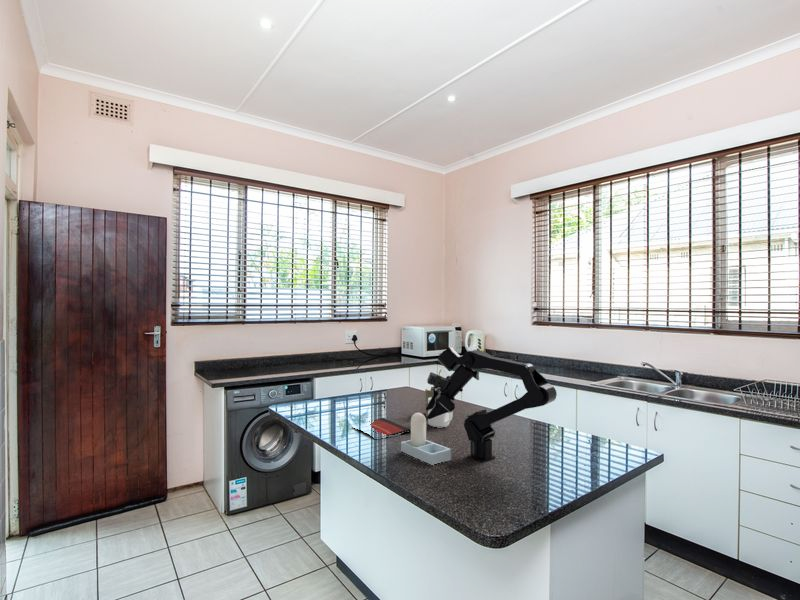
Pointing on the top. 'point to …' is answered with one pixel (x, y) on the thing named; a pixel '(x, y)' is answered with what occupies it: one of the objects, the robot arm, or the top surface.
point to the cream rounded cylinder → (418, 430)
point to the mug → (440, 419)
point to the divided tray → (427, 452)
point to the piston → (427, 395)
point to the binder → (388, 427)
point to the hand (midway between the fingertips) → (427, 413)
